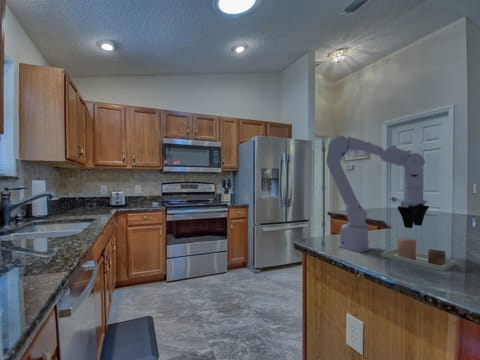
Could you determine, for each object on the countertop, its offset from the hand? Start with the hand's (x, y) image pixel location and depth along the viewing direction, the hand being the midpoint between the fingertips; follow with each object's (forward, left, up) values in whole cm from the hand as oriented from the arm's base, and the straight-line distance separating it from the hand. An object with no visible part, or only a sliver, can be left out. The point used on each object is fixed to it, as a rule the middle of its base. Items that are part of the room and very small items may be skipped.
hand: (413, 226), depth 91 cm
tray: (+4, -8, -10) cm, 13 cm away
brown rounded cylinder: (+1, -8, -9) cm, 12 cm away
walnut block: (+10, -8, -9) cm, 16 cm away
